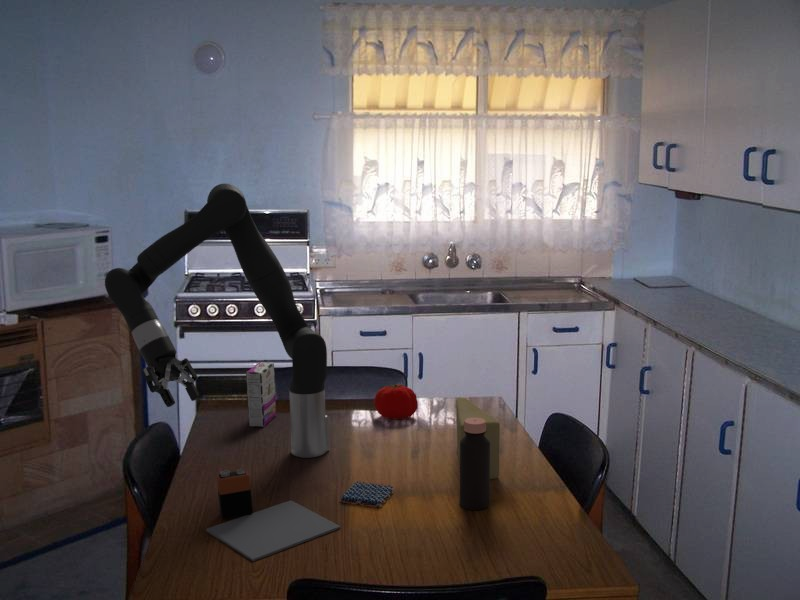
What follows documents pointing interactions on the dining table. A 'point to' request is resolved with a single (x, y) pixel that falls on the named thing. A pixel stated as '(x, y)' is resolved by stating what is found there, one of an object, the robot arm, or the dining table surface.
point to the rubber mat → (272, 530)
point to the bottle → (474, 465)
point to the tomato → (396, 402)
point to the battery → (234, 493)
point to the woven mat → (367, 494)
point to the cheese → (492, 433)
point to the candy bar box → (261, 394)
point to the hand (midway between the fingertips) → (184, 402)
